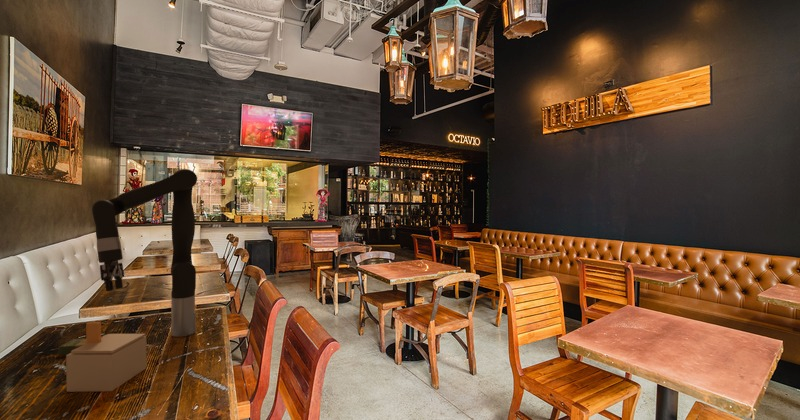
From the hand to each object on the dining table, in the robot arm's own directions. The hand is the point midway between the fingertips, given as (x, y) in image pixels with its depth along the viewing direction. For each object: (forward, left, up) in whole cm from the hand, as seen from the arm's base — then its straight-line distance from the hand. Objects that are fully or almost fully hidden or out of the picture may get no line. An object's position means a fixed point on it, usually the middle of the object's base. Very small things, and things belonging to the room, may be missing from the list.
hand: (114, 289), depth 143 cm
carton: (+9, -8, -26) cm, 28 cm away
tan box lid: (0, +27, -13) cm, 30 cm away
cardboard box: (0, +27, -25) cm, 37 cm away
